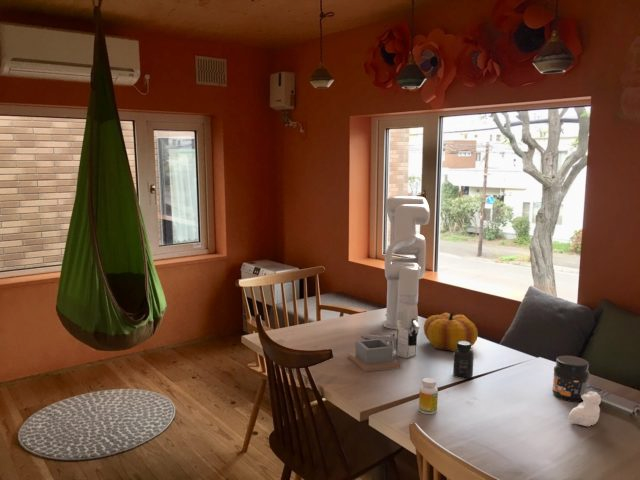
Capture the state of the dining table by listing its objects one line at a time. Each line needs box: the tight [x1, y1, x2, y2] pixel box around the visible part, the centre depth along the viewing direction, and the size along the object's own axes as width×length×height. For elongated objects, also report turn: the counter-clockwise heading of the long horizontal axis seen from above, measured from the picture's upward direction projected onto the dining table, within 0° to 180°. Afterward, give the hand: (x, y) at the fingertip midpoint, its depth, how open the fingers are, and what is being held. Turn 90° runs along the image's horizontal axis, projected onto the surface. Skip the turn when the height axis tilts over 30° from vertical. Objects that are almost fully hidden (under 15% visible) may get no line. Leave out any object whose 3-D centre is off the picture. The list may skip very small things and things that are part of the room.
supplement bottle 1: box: [418, 377, 439, 415], centre depth 167 cm, size 5×5×10 cm
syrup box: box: [395, 319, 417, 359], centre depth 214 cm, size 6×6×14 cm
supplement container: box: [552, 355, 590, 402], centre depth 179 cm, size 10×10×12 cm
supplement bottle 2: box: [452, 341, 475, 380], centre depth 195 cm, size 7×7×12 cm
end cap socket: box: [348, 339, 401, 373], centre depth 207 cm, size 16×14×7 cm
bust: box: [567, 390, 602, 427], centre depth 160 cm, size 12×8×11 cm
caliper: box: [360, 333, 396, 350], centre depth 229 cm, size 20×1×6 cm, turn 38°
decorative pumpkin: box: [423, 311, 479, 352], centre depth 225 cm, size 20×22×15 cm
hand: (406, 341), depth 214 cm, fingers open, 9 cm apart
